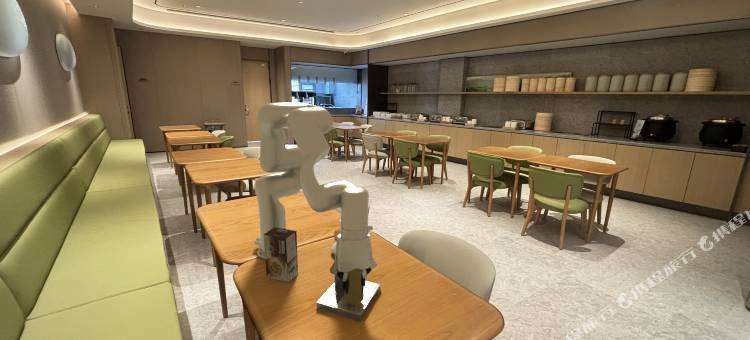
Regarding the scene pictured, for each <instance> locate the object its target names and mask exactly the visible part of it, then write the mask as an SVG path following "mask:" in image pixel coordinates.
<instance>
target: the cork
mask: <svg viewBox="0 0 750 340" xmlns="http://www.w3.org/2000/svg"><path fill="white" fill-rule="evenodd" d="M362 273H363V269H362V270H361V269H359V268H357V269H353V270H352V271H349V272H348V276H347V280H348V282H349V288H348V294H346V293H345V291H344V298H343V299H344V301H345V302H347V303H349V304H358V303H360V302H362V301H363V299H364V293H363V291H362V283H361V279H362V278H361V275H362Z"/></svg>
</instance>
